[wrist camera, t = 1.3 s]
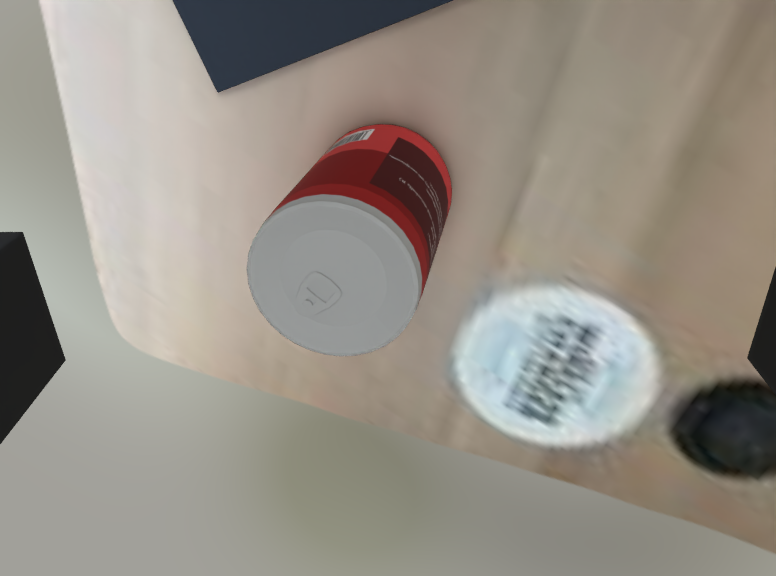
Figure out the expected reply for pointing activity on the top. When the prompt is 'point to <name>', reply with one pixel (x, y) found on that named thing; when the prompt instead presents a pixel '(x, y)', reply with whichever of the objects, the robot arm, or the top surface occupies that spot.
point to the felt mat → (281, 30)
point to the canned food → (353, 242)
